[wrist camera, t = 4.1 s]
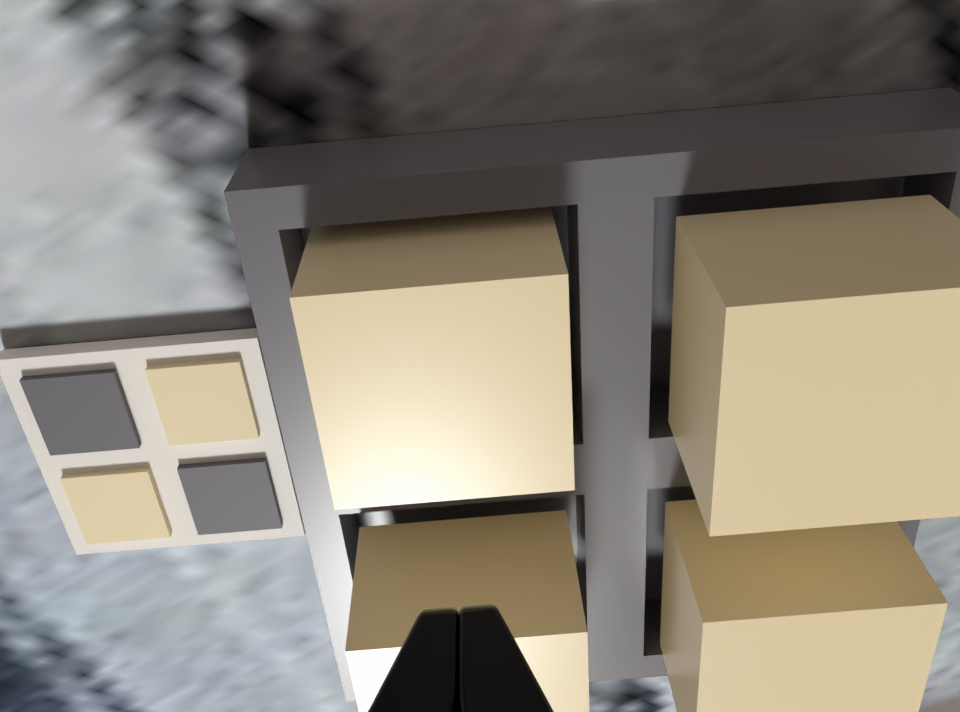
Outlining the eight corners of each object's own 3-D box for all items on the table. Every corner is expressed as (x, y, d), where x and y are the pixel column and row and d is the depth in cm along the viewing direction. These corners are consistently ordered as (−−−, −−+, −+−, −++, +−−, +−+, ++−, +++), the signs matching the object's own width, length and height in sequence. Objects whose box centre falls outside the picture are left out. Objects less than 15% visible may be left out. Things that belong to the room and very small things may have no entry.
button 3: (668, 421, 16) (709, 536, 14) (676, 216, 14) (725, 307, 12) (889, 403, 16) (972, 515, 14) (930, 194, 14) (1036, 281, 12)
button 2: (386, 665, 20) (378, 795, 17) (359, 526, 18) (345, 651, 15) (571, 650, 20) (591, 779, 17) (566, 510, 17) (587, 632, 15)
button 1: (659, 643, 20) (692, 771, 17) (665, 501, 17) (702, 622, 15) (846, 629, 19) (907, 754, 17) (873, 485, 17) (947, 602, 15)
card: (82, 541, 20) (74, 559, 20) (3, 349, 17) (-10, 365, 17) (306, 523, 20) (304, 540, 20) (261, 327, 17) (255, 342, 17)
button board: (353, 630, 22) (346, 700, 20) (247, 148, 16) (224, 191, 14) (853, 590, 22) (887, 658, 20) (949, 87, 15) (1012, 123, 14)
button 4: (350, 406, 18) (335, 510, 15) (314, 215, 16) (289, 297, 13) (555, 390, 18) (574, 490, 15) (547, 195, 15) (568, 273, 13)
